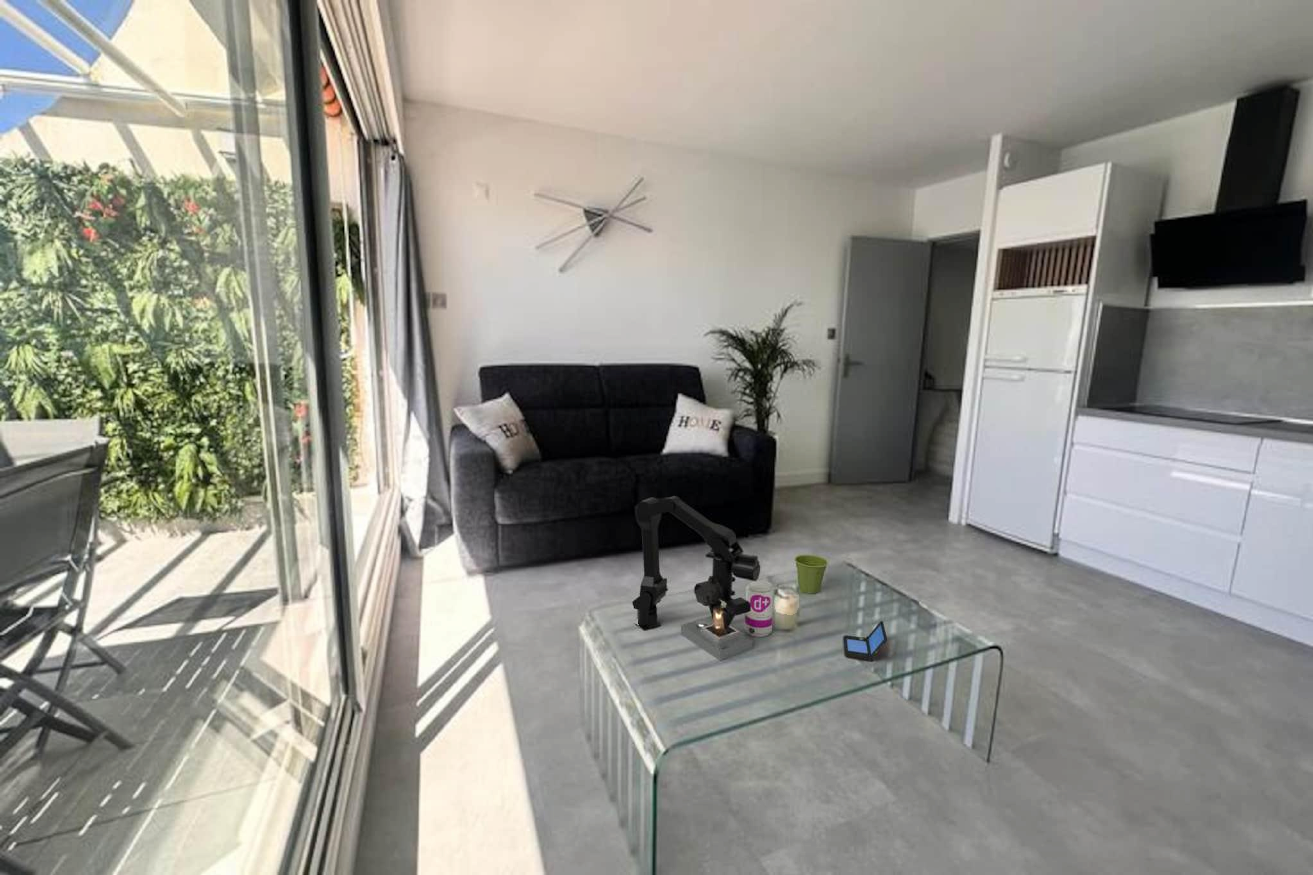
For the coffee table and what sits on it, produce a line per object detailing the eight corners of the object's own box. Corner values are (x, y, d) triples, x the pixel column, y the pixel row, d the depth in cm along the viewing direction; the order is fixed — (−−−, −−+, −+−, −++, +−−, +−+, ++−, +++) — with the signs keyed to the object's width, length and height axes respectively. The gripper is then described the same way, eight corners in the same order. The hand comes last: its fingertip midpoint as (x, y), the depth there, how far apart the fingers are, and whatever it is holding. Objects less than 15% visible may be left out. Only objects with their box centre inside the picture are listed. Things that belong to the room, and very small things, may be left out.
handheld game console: (842, 638, 173) (844, 614, 172) (881, 643, 170) (882, 619, 169) (844, 658, 161) (845, 633, 160) (885, 665, 158) (887, 639, 157)
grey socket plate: (680, 634, 173) (681, 620, 173) (711, 624, 180) (712, 610, 179) (720, 660, 158) (720, 645, 158) (752, 648, 165) (752, 634, 165)
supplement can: (771, 639, 171) (773, 590, 169) (743, 636, 173) (745, 588, 171) (771, 626, 179) (773, 580, 177) (744, 624, 181) (746, 578, 179)
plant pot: (793, 595, 203) (795, 564, 201) (791, 582, 214) (793, 553, 213) (828, 598, 201) (830, 567, 199) (824, 585, 213) (826, 556, 211)
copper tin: (709, 633, 168) (710, 607, 167) (721, 629, 170) (722, 603, 169) (719, 639, 164) (720, 613, 163) (731, 635, 167) (732, 609, 165)
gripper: (680, 568, 168) (678, 619, 170) (722, 590, 152) (720, 646, 155) (709, 561, 174) (708, 611, 176) (753, 582, 159) (751, 635, 161)
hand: (720, 625), depth 167 cm, fingers closed on copper tin, 4 cm apart
